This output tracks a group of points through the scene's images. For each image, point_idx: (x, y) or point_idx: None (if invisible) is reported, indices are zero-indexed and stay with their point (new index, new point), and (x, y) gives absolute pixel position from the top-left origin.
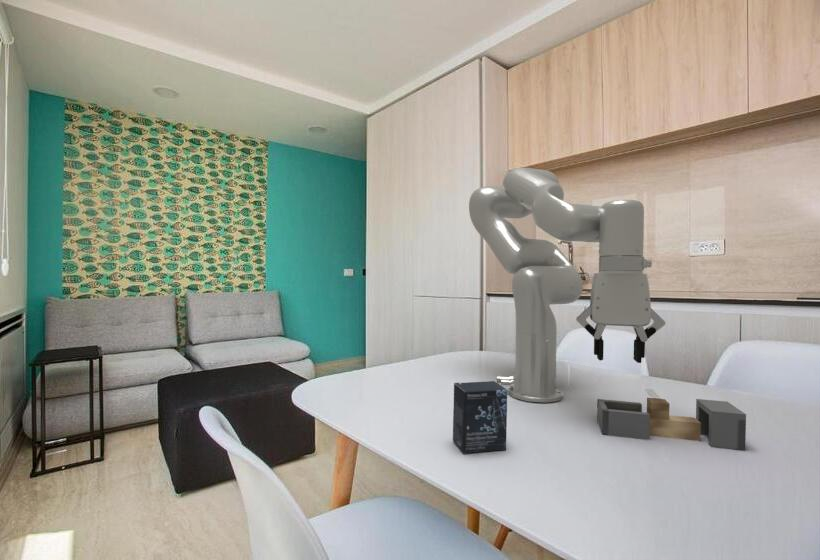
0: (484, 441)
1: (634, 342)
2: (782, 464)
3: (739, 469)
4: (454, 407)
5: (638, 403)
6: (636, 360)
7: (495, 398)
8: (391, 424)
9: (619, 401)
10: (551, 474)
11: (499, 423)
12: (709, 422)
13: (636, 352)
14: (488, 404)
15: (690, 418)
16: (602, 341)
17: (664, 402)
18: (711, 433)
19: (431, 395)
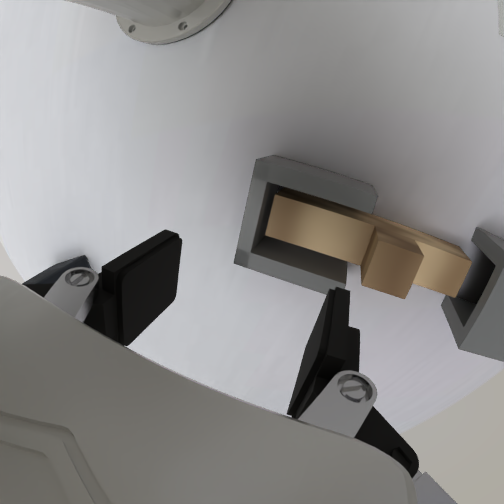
0: None
1: (315, 355)
2: (482, 360)
3: (406, 376)
4: None
5: (367, 203)
6: (307, 343)
7: None
8: (8, 212)
9: (316, 182)
10: (149, 357)
11: None
12: (456, 322)
13: (302, 365)
14: None
15: (458, 267)
16: (123, 345)
17: (399, 288)
18: (447, 320)
19: (22, 73)
